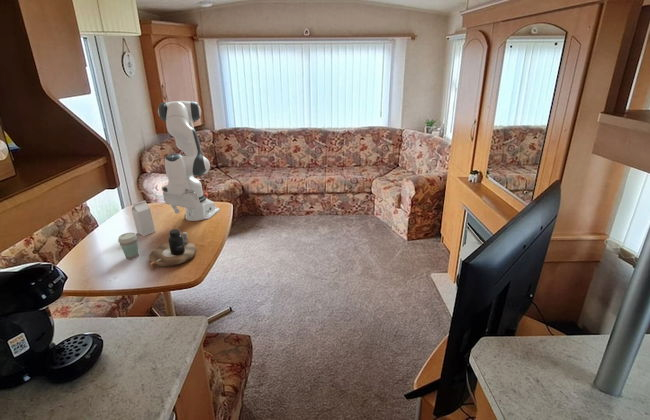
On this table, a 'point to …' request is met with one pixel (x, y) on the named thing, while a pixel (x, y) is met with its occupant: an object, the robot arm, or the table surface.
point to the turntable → (165, 258)
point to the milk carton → (143, 218)
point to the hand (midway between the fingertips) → (184, 214)
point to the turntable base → (153, 265)
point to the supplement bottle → (176, 242)
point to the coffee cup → (129, 245)
